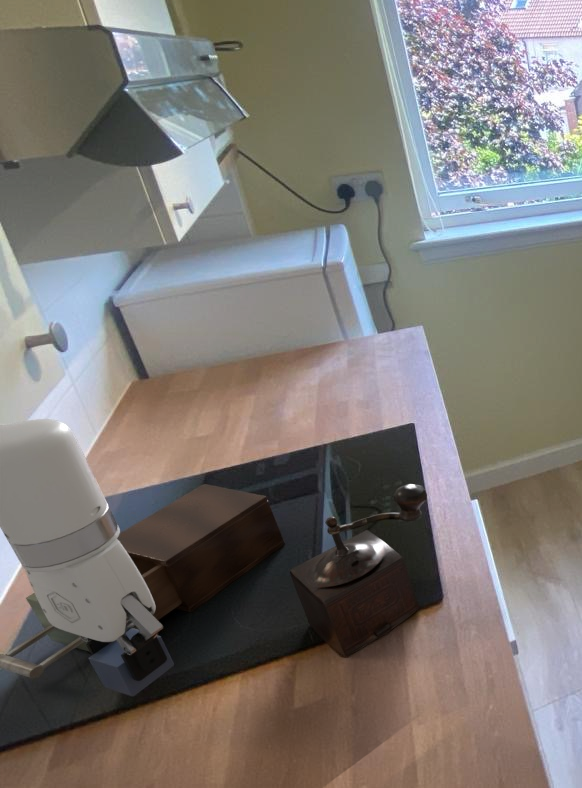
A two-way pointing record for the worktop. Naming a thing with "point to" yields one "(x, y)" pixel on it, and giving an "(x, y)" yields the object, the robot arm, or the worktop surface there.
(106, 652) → the block
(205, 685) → the worktop surface
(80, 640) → the drawer
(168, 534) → the cabinet
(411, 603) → the manual coffee grinder
